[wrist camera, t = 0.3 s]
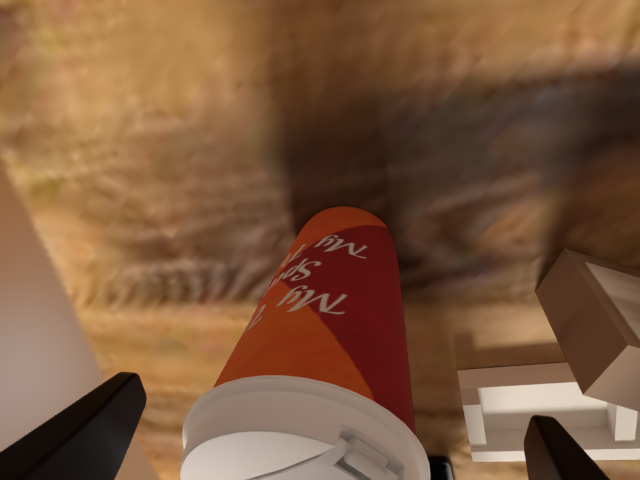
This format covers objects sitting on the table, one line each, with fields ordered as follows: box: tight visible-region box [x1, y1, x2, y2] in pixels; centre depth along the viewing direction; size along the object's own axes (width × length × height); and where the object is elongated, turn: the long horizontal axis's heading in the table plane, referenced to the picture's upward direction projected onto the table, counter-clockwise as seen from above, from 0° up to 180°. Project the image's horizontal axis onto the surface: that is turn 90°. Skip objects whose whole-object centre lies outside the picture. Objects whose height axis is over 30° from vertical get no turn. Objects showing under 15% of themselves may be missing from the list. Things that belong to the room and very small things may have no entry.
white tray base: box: [457, 362, 640, 462], centre depth 24 cm, size 5×17×3 cm, turn 108°
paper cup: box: [180, 206, 431, 480], centre depth 18 cm, size 8×8×14 cm
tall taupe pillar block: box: [535, 248, 640, 412], centre depth 19 cm, size 6×3×7 cm, turn 78°
